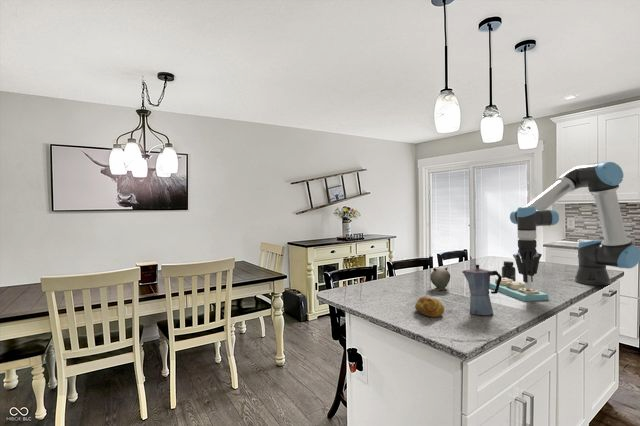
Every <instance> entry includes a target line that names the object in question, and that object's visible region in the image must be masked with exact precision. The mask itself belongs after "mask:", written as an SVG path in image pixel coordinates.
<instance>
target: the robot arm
mask: <svg viewBox="0 0 640 426" xmlns="http://www.w3.org/2000/svg"><path fill="white" fill-rule="evenodd" d="M623 178H624V172H623V169H622V167H621V166H620V165H619V164H617V163H616V162H613V161H601V162H595V163H589V164H580V165H578V166H574V167H573V168H571V169H569V170H568V171H565V173H563V174H562V175H560V176H559V177H558V178H557V179H556V180H555V182H554V183H553V184H552V185H550V186H549V187H548V188H547V189H546V190H544V191H543V192H541V193H540V194H539V195H537V197H535V198H533V199H532V200H531V201H530V202H529V203H527V204H526V205H524V206H519V207H517V208H516V210H512V211H511V212H510V215H509V220H510V221H511V223H512V224H514V225H517V247H518V249H517V253H514V254H513V253H512V257H513V258H514V259H515V263H516V268H517V271H518V272H517V273H518V274H520V275H521V276H522V281H523V282H522V283H524V284H525V289H528V290H532V289H533V288H532V283H533V282H534V278H533V277H534V276H535V275H537V273H538V269H539V265H540V261H541V260H540V259H541V257H542V256H543V254H542V253H539V252H537V227H545V226H546V227H551V226H555V225H557V224H558V223H559V221H560V215H559V213H558V212H557V211H556V210H554V209H553V210H552V209H549V208H550V207H551V206H552V205H554V204H555V203H557V201H559V200H560V199H561V198H562V197H564V196H565V195H567V194H568V193H569V194H570V193H572V192H575V190H577V189H583V188H588V193H590V194H592V195H593V197H594V200H595V201H594V202H595V205H596V206H595V207H596V209H597V215H598V219H599V224H600V227H601V231H602V236H603V239H593V240H580V241H579V242H578V247H577V254H578V255H577V257H578V269H577V271H576V275H575V276H574V281H575V282H576V283H578V284H583V285H589V286H610V285H612V284H611V283H612V281H611V278H610V276H609V272H608V271H607V267H614V268H619V269H633V268H635V267H636V266H637V265H638V264H639V262H640V247H639V246H638V245H637V246H636V245H635V244H633V242H632V239H631V238H629V237H627V234H626V229H625V224H624V221H623V217H622V212H621V206H620V203H619V200H618V199H619V197H618V194H617V190H618V189H619V188H620V184H621V183H622V182H623V181H624V179H623Z"/></svg>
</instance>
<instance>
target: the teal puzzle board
mask: <svg viewBox="0 0 640 426" xmlns="http://www.w3.org/2000/svg"><path fill="white" fill-rule="evenodd" d="M496 284H497V283H495V281H490V289H493V290H494V291H495V289H496ZM538 291H539V294H529V295H526V294H523V293H521V292H518V289H517V290H513V289H511V288H508V287H506V285H503V286H502V285H499V289H498V292H499V293H502V294H504V295H507V296H510V297H512V298H514V299H517V300H519V301H523V302H534V301H536V302H537V301H549V294H548V293H545V292H542V291H540V290H538Z"/></svg>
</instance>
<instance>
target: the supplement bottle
mask: <svg viewBox="0 0 640 426" xmlns="http://www.w3.org/2000/svg"><path fill="white" fill-rule="evenodd" d="M516 275H517V274H516V267H515V266H514V262H513V261H510V260H509V261H508V260H507V261H503V265H502V266H501V276H502V278H508V279H511V280H513V282H514V281H517V280H516V279H517V278H516Z"/></svg>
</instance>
